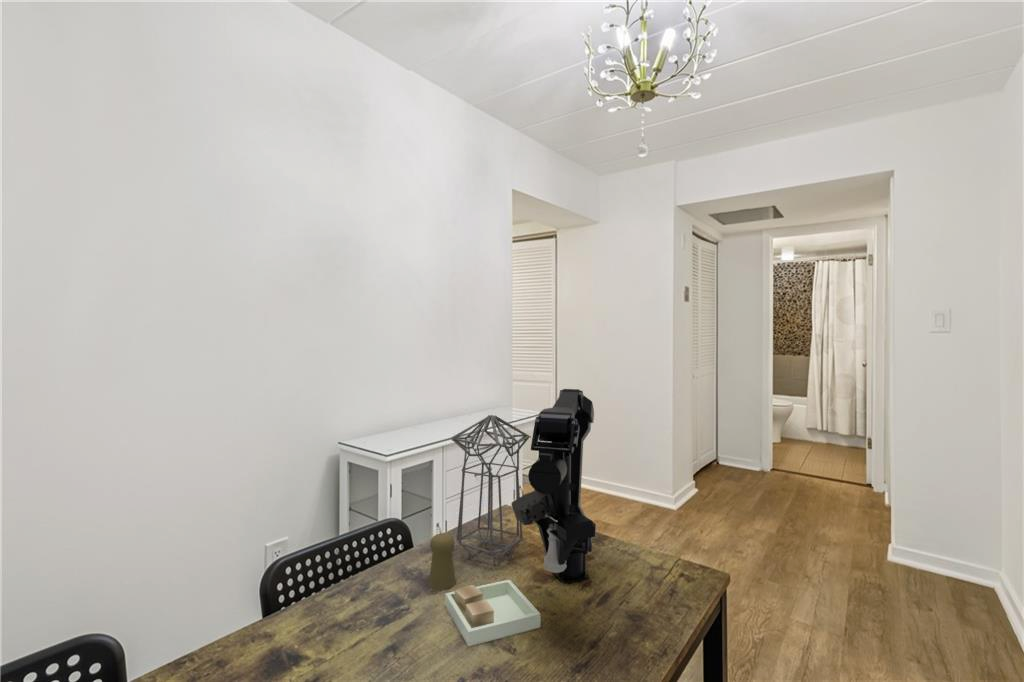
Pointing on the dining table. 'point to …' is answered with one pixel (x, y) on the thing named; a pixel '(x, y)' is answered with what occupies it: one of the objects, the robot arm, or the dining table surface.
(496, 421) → the geometric lantern
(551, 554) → the rook chess piece
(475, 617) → the beech block
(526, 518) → the robot arm
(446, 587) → the cork
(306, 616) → the dining table surface
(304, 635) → the dining table surface
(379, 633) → the dining table surface
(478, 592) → the beech block
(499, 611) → the tray
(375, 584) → the dining table surface
